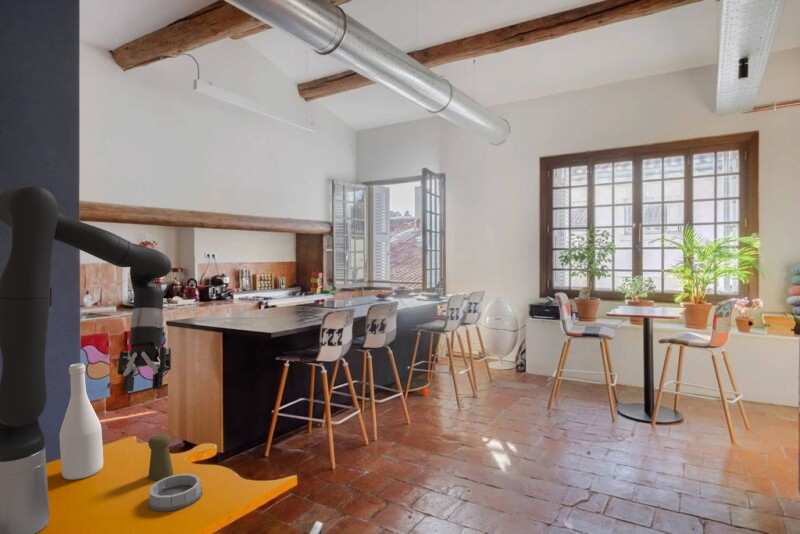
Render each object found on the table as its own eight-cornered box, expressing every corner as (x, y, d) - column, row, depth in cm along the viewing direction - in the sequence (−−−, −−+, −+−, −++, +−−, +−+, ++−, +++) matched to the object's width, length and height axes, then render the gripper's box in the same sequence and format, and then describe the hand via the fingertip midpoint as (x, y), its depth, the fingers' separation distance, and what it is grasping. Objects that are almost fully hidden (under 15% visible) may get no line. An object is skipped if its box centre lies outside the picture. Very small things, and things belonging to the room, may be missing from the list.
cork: (163, 481, 124) (161, 440, 123) (143, 479, 125) (140, 439, 125) (178, 470, 130) (176, 431, 129) (159, 469, 131) (157, 430, 131)
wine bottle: (108, 471, 130) (102, 364, 129) (66, 484, 123) (59, 371, 122) (98, 461, 137) (92, 358, 135) (58, 473, 130) (51, 365, 128)
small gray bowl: (150, 518, 108) (149, 503, 107) (146, 494, 118) (145, 481, 118) (206, 501, 114) (205, 488, 114) (198, 480, 124) (197, 468, 124)
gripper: (112, 328, 123) (107, 392, 119) (158, 322, 120) (155, 388, 115) (135, 331, 130) (131, 392, 126) (179, 325, 127) (176, 388, 122)
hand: (142, 390), depth 121 cm, fingers open, 8 cm apart
